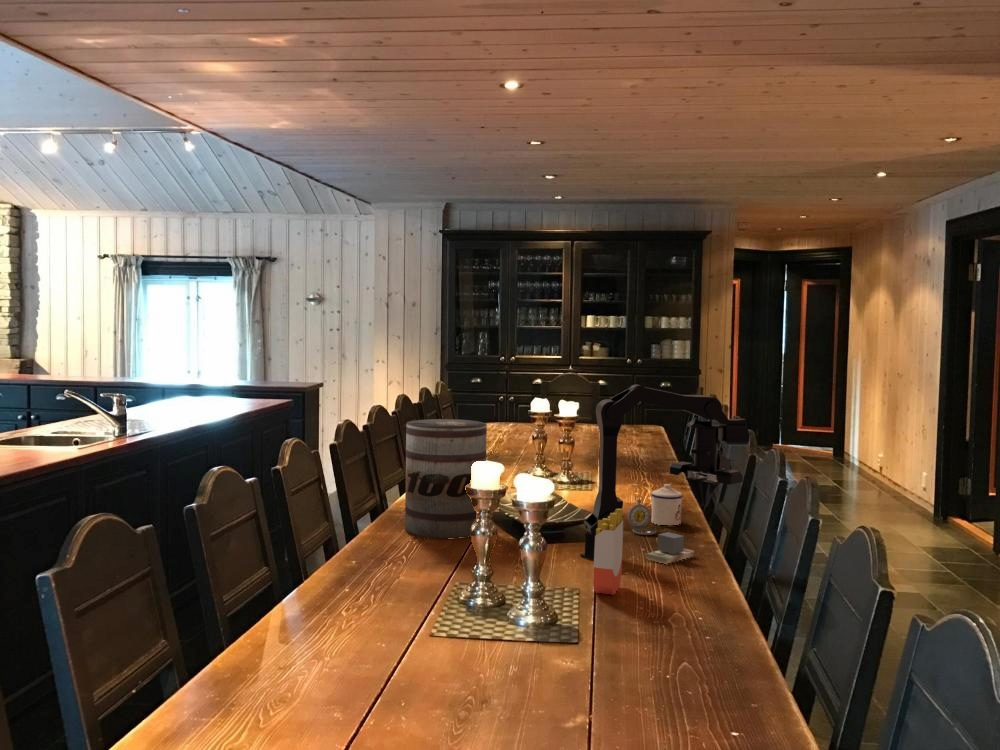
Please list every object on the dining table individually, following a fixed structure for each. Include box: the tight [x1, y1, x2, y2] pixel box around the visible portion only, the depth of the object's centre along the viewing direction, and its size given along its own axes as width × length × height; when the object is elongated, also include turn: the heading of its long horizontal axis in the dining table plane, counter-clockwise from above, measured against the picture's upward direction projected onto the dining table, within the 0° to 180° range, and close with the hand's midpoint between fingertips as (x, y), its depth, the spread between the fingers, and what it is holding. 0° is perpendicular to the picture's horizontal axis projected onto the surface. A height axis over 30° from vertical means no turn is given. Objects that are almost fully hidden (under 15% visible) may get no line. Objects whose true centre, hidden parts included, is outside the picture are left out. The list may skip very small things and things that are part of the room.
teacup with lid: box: [650, 483, 683, 527], centre depth 263 cm, size 12×9×12 cm
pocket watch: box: [627, 495, 657, 536], centre depth 250 cm, size 8×8×10 cm
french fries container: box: [592, 508, 624, 596], centre depth 195 cm, size 5×11×18 cm, turn 161°
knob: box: [657, 531, 685, 554], centre depth 223 cm, size 4×5×4 cm
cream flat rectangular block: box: [645, 547, 695, 565], centre depth 223 cm, size 12×6×2 cm, turn 131°
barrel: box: [404, 418, 488, 540], centre depth 248 cm, size 22×22×30 cm
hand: (704, 506), depth 225 cm, fingers closed
